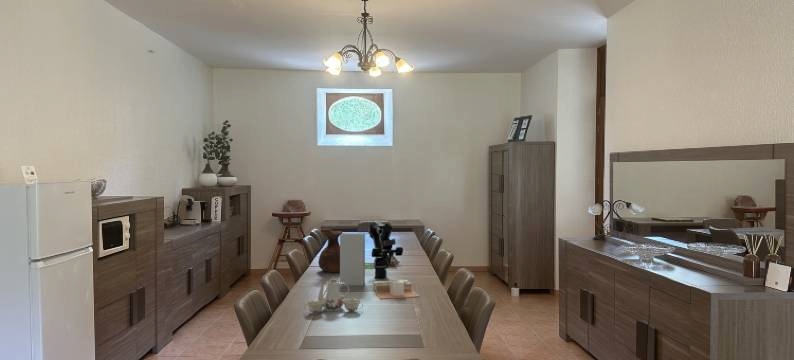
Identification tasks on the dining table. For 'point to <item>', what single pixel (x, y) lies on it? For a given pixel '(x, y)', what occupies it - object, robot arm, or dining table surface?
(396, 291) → the block
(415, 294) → the mat
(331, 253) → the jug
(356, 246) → the tall white box
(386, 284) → the board
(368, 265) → the decorative card
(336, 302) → the chinaware
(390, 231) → the robot arm
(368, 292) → the dining table surface
